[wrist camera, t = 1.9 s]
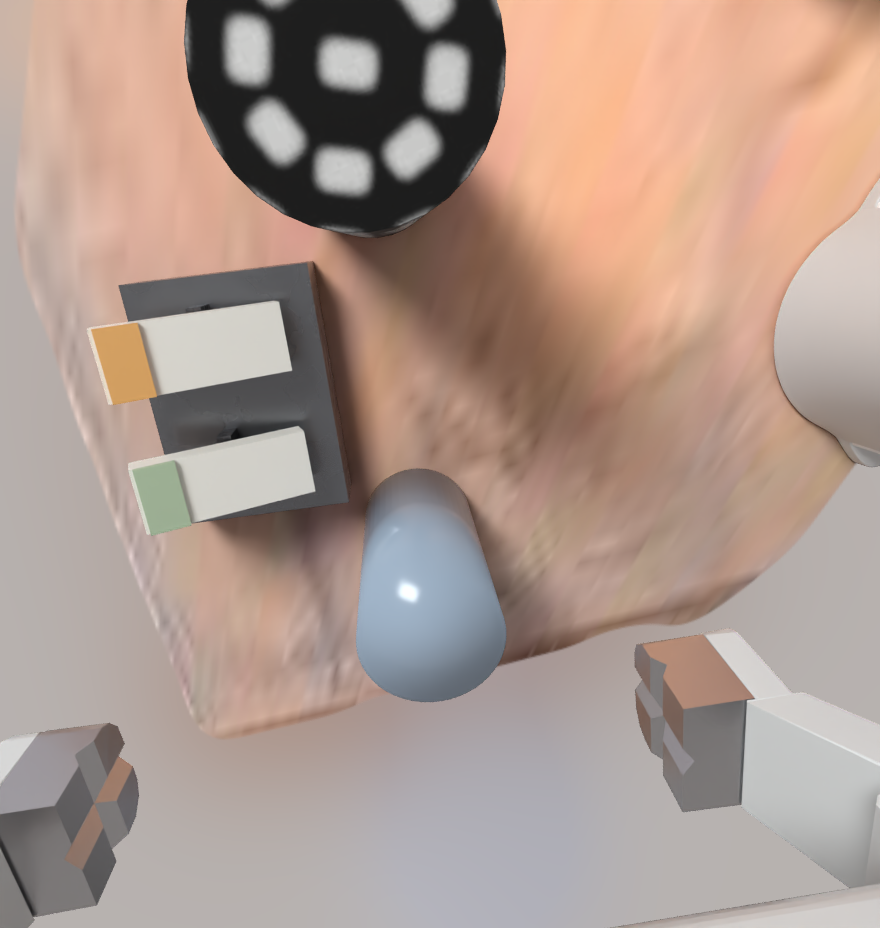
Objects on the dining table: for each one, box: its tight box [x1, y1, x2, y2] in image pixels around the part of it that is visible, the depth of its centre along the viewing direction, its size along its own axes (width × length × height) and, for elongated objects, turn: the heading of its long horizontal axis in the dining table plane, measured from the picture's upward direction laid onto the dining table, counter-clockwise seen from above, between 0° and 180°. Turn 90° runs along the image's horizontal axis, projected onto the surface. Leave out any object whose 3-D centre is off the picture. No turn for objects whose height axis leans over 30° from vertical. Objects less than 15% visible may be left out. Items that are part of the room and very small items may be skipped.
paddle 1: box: [87, 301, 292, 405], centre depth 32 cm, size 9×4×2 cm, turn 96°
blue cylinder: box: [356, 469, 506, 702], centre depth 36 cm, size 7×7×14 cm
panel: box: [119, 261, 351, 523], centre depth 37 cm, size 10×14×5 cm
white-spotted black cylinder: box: [184, 0, 506, 238], centre depth 26 cm, size 8×8×20 cm
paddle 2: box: [128, 426, 315, 536], centre depth 35 cm, size 9×4×2 cm, turn 96°
